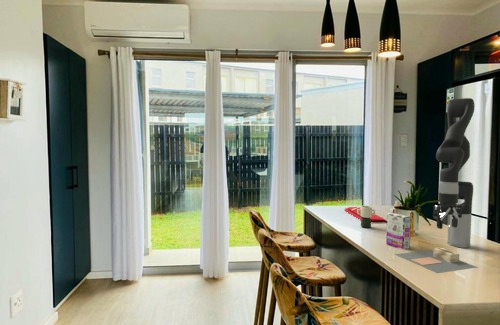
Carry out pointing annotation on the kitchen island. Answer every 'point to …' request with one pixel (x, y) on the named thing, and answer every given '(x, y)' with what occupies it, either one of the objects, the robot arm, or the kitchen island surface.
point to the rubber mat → (434, 262)
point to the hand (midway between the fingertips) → (447, 227)
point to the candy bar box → (398, 230)
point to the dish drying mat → (354, 212)
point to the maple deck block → (446, 255)
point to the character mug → (365, 215)
